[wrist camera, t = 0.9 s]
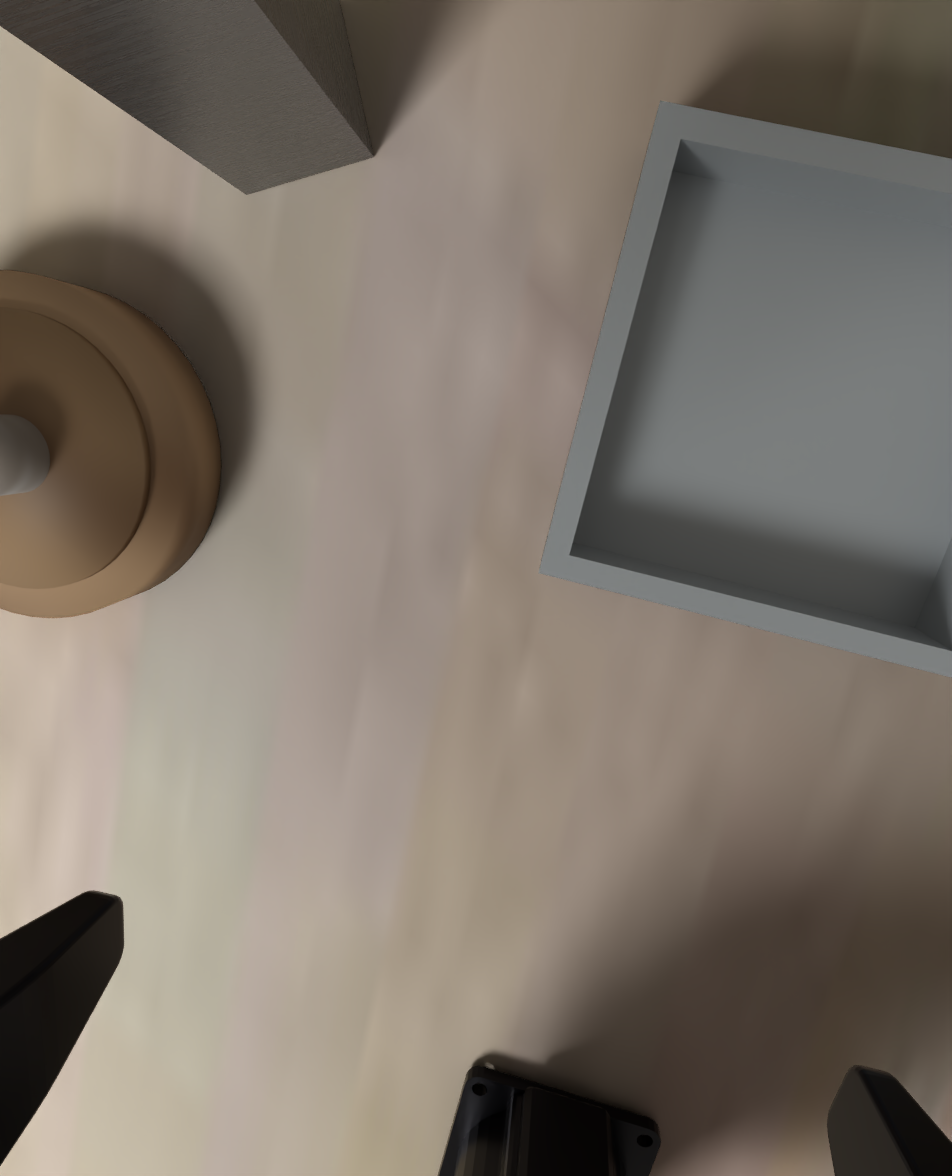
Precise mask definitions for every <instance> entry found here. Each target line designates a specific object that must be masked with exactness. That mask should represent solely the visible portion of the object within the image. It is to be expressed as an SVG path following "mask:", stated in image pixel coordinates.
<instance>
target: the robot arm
mask: <svg viewBox="0 0 952 1176" xmlns="http://www.w3.org/2000/svg"><path fill="white" fill-rule="evenodd" d="M123 948H124V918H123V902H122V900H121V898H120V897H118V896H116V895H112V894H108V893H103V892H99V891H87V892H84V893H82V894H80V895H78V896H76V897H75V898H73V899H71V900H69V901H67V902H65V903H64V904H62V905H60V906H58V907H56V908H55V909H53V910H51V911H49V912H47V913H46V914H44V915H42V916H40V917H38V918H37V919H35V920H33V921H31V922H29V923H28V924H26V925H24V926H22V927H20V928H19V929H17V930H15V931H13V932H11V933H9V934H8V935H6V936H4V937H2V938H0V1166H1V1164H2V1163H3V1161H4V1160H5V1158H6V1157H7V1155H8V1154H9V1152H10V1151H11V1149H12V1148H13V1146H14V1145H15V1143H16V1142H17V1140H18V1139H19V1137H20V1136H21V1134H22V1133H23V1131H24V1130H25V1128H26V1127H27V1125H28V1124H29V1122H30V1121H31V1119H32V1118H33V1116H34V1114H35V1113H36V1111H37V1110H38V1108H39V1107H40V1105H41V1103H42V1102H43V1100H44V1099H45V1097H46V1096H47V1094H48V1092H49V1090H50V1089H51V1087H52V1085H53V1083H54V1082H55V1080H56V1078H57V1076H58V1075H59V1073H60V1071H61V1069H62V1067H63V1066H64V1064H65V1062H66V1060H67V1058H68V1056H69V1055H70V1053H71V1051H72V1049H73V1047H74V1045H75V1044H76V1042H77V1040H78V1038H79V1036H80V1034H81V1033H82V1031H83V1029H84V1027H85V1025H86V1023H87V1022H88V1020H89V1018H90V1016H91V1014H92V1012H93V1011H94V1009H95V1007H96V1005H97V1003H98V1001H99V999H100V998H101V996H102V994H103V992H104V990H105V988H106V987H107V985H108V983H109V981H110V979H111V977H112V976H113V974H114V972H115V970H116V968H117V966H118V964H119V962H120V959H121V957H122V953H123ZM477 1083H481V1084H483V1085H479V1084H477ZM827 1128H828V1138H829V1143H830V1149H831V1155H832V1161H833V1167H834V1173H835V1176H952V1142H951V1141H950V1140H949V1139H948V1138H947V1136H946V1135H945V1134H944V1133H943V1132H942V1131H941V1130H940V1128H939V1127H938V1126H937V1125H936V1124H935V1123H934V1122H933V1120H932V1119H931V1118H930V1117H929V1116H928V1115H927V1114H926V1112H925V1111H924V1110H923V1109H922V1108H921V1107H920V1105H919V1104H918V1103H917V1102H916V1101H915V1100H914V1099H913V1097H912V1096H911V1095H910V1094H909V1093H908V1092H907V1091H906V1089H905V1088H904V1087H903V1086H902V1085H901V1084H900V1083H899V1081H898V1080H897V1079H896V1078H894V1077H893V1076H892V1075H891V1074H889V1073H887V1072H885V1071H881V1070H877V1069H873V1068H868V1067H864V1066H859V1065H855V1066H853V1067H851V1068H850V1069H849V1070H848V1072H847V1073H846V1075H845V1078H844V1080H843V1082H842V1084H841V1086H840V1088H839V1090H838V1092H837V1094H836V1097H835V1099H834V1101H833V1103H832V1105H831V1107H830V1110H829V1114H828V1121H827ZM660 1143H661V1139H660V1131H659V1127H658V1124H657V1123H656V1122H655V1121H654V1120H652V1119H650V1118H648V1117H645V1116H642V1115H638V1114H635V1113H632V1112H629V1111H625V1110H622V1109H619V1108H616V1107H613V1106H609V1105H606V1104H603V1103H600V1102H596V1101H593V1100H590V1099H587V1098H583V1097H580V1096H577V1095H574V1094H570V1093H567V1092H564V1091H561V1090H557V1089H554V1088H551V1087H548V1086H544V1085H541V1084H538V1083H535V1082H531V1081H528V1080H525V1079H522V1078H518V1077H515V1076H512V1075H509V1074H505V1073H502V1072H499V1071H496V1070H492V1069H489V1068H486V1067H481V1066H477V1067H473V1068H471V1069H470V1070H469V1071H468V1072H467V1074H466V1078H465V1081H464V1085H463V1088H462V1092H461V1095H460V1099H459V1102H458V1106H457V1109H456V1113H455V1116H454V1120H453V1123H452V1127H451V1130H450V1134H449V1137H448V1141H447V1144H446V1148H445V1151H444V1155H443V1158H442V1162H441V1165H440V1169H439V1172H438V1176H649V1173H650V1171H651V1168H652V1165H653V1163H654V1160H655V1158H656V1155H657V1153H658V1150H659V1147H660Z"/></svg>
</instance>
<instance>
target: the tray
mask: <svg viewBox="0 0 952 1176" xmlns="http://www.w3.org/2000/svg"><path fill="white" fill-rule="evenodd" d="M539 573H541V574H545V575H549V576H552V577H556V578H560V579H564V580H568V581H572V582H576V583H580V584H584V585H588V586H592V587H596V588H600V589H604V590H608V591H612V592H616V593H620V594H624V595H628V596H631V597H635V598H639V599H643V600H647V601H651V602H655V603H659V604H663V605H667V606H671V607H675V608H679V609H683V610H687V611H691V612H695V613H699V614H703V615H707V616H711V617H714V618H718V619H722V620H726V621H730V622H734V623H738V624H742V625H746V626H750V627H754V628H758V629H762V630H766V631H770V632H774V633H778V634H782V635H786V636H790V637H794V638H797V639H801V640H805V641H809V642H813V643H817V644H821V645H825V646H829V647H833V648H837V649H841V650H845V651H849V652H853V653H857V654H861V655H865V656H869V657H873V658H876V659H880V660H884V661H888V662H892V663H896V664H900V665H904V666H908V667H912V668H916V669H920V670H924V671H928V672H932V673H936V674H940V675H944V676H948V677H952V159H951V158H946V157H941V156H935V155H930V154H925V153H920V152H915V151H910V150H905V149H900V148H895V147H890V146H885V145H880V144H875V143H870V142H865V141H860V140H855V139H850V138H845V137H840V136H835V135H830V134H825V133H820V132H815V131H810V130H805V129H800V128H795V127H790V126H785V125H780V124H775V123H770V122H765V121H760V120H755V119H750V118H745V117H740V116H735V115H730V114H725V113H720V112H715V111H710V110H705V109H700V108H695V107H690V106H685V105H680V104H675V103H670V102H665V101H660V104H659V108H658V111H657V115H656V119H655V122H654V126H653V130H652V134H651V137H650V141H649V145H648V148H647V152H646V156H645V160H644V164H643V168H642V172H641V176H640V179H639V183H638V187H637V191H636V195H635V199H634V203H633V207H632V210H631V214H630V218H629V222H628V226H627V230H626V234H625V238H624V242H623V245H622V249H621V253H620V257H619V261H618V265H617V269H616V273H615V276H614V280H613V284H612V288H611V292H610V296H609V300H608V304H607V307H606V311H605V315H604V319H603V323H602V327H601V331H600V335H599V339H598V342H597V346H596V350H595V354H594V358H593V362H592V366H591V370H590V373H589V377H588V381H587V385H586V389H585V393H584V397H583V401H582V404H581V408H580V412H579V416H578V420H577V424H576V428H575V432H574V436H573V439H572V443H571V447H570V451H569V455H568V459H567V463H566V467H565V470H564V474H563V478H562V482H561V486H560V490H559V494H558V498H557V501H556V505H555V509H554V513H553V517H552V521H551V525H550V529H549V533H548V536H547V540H546V544H545V548H544V552H543V556H542V560H541V565H540V569H539Z"/></svg>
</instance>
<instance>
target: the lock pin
mask: <svg viewBox="0 0 952 1176" xmlns="http://www.w3.org/2000/svg"><path fill="white" fill-rule="evenodd" d="M0 26H1V27H3V28H4V29H6V30H7V31H8V32H10V33H11V34H13V35H14V36H16V37H17V38H19V39H20V40H22V41H23V42H25V43H26V44H27V45H29V46H30V47H32V48H33V49H35V50H36V51H38V52H39V53H41V54H42V55H43V56H45V57H46V58H48V59H49V60H51V61H52V62H54V63H55V64H57V65H58V66H59V67H61V68H62V69H64V70H65V71H67V72H68V73H70V74H71V75H73V76H74V77H75V78H77V79H78V80H80V81H81V82H83V83H84V84H86V85H87V86H89V87H90V88H92V89H93V90H94V91H96V92H97V93H99V94H100V95H102V96H103V97H105V98H106V99H108V100H109V101H110V102H112V103H113V104H115V105H116V106H118V107H119V108H121V109H122V110H124V111H125V112H126V113H128V114H129V115H131V116H132V117H134V118H135V119H137V120H138V121H140V122H141V123H143V124H144V125H145V126H147V127H148V128H150V129H151V130H153V131H154V132H156V133H157V134H159V135H160V136H161V137H163V138H164V139H166V140H167V141H169V142H170V143H172V144H173V145H175V146H176V147H177V148H179V149H180V150H182V151H183V152H185V153H186V154H188V155H189V156H191V157H192V158H193V159H195V160H196V161H198V162H199V163H201V164H202V165H204V166H205V167H207V168H208V169H210V170H211V171H212V172H214V173H215V174H217V175H218V176H220V177H221V178H223V179H224V180H226V181H227V182H228V183H230V184H231V185H233V186H234V187H236V188H237V189H239V190H240V191H242V192H243V193H244V194H246V195H247V194H251V193H254V192H257V191H261V190H264V189H267V188H271V187H274V186H278V185H281V184H284V183H288V182H291V181H295V180H298V179H301V178H305V177H308V176H311V175H315V174H318V173H322V172H325V171H328V170H332V169H335V168H338V167H342V166H345V165H349V164H352V163H355V162H359V161H362V160H365V159H369V158H372V157H374V156H373V152H372V147H371V142H370V138H369V133H368V129H367V124H366V120H365V115H364V110H363V106H362V101H361V97H360V92H359V88H358V83H357V78H356V74H355V69H354V65H353V60H352V56H351V51H350V46H349V42H348V37H347V33H346V28H345V24H344V19H343V14H342V10H341V5H340V1H339V0H0Z"/></svg>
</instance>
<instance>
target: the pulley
mask: <svg viewBox="0 0 952 1176" xmlns="http://www.w3.org/2000/svg"><path fill="white" fill-rule="evenodd" d="M220 478H221V453H220V442H219V436H218V431H217V425H216V421H215V418H214V415H213V411H212V408H211V405H210V402H209V400H208V397H207V395H206V393H205V390H204V388H203V386H202V383H201V381H200V380H199V378H198V376H197V374H196V373H195V371H194V369H193V368H192V366H191V364H190V363H189V361H188V360H187V358H186V357H185V356H184V354H183V353H182V352H181V350H180V349H179V348H178V346H177V345H176V344H175V343H174V342H173V341H172V340H171V339H170V338H169V337H168V336H167V334H166V333H165V332H164V331H163V330H162V329H161V328H160V327H158V326H157V325H156V324H155V323H154V322H152V321H151V320H150V319H149V318H148V317H146V316H145V315H144V314H142V313H141V312H139V311H137V310H136V309H134V308H133V307H131V306H130V305H128V304H126V303H124V302H122V301H120V300H118V299H116V298H114V297H112V296H109V295H107V294H104V293H101V292H98V291H95V290H91V289H88V288H84V287H81V286H77V285H73V284H70V283H66V282H62V281H59V280H55V279H51V278H48V277H44V276H40V275H37V274H32V273H26V272H19V271H13V270H0V608H1V609H3V610H6V611H9V612H12V613H16V614H21V615H26V616H31V617H42V618H62V617H73V616H78V615H82V614H87V613H91V612H93V611H96V610H99V609H101V608H104V607H106V606H109V605H111V604H114V603H117V602H119V601H122V600H124V599H127V598H129V597H132V596H134V595H137V594H139V593H142V592H144V591H147V590H149V589H151V588H153V587H154V586H156V585H158V584H160V583H162V582H163V581H165V580H166V579H168V578H169V577H170V576H171V575H173V574H174V573H175V572H176V571H178V570H179V569H180V568H181V567H182V566H183V565H184V564H185V562H186V561H187V560H188V559H189V558H190V557H191V556H192V554H193V553H194V551H195V550H196V549H197V547H198V546H199V544H200V543H201V541H202V539H203V537H204V535H205V533H206V531H207V529H208V527H209V525H210V523H211V520H212V517H213V514H214V511H215V508H216V504H217V499H218V494H219V489H220Z"/></svg>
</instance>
